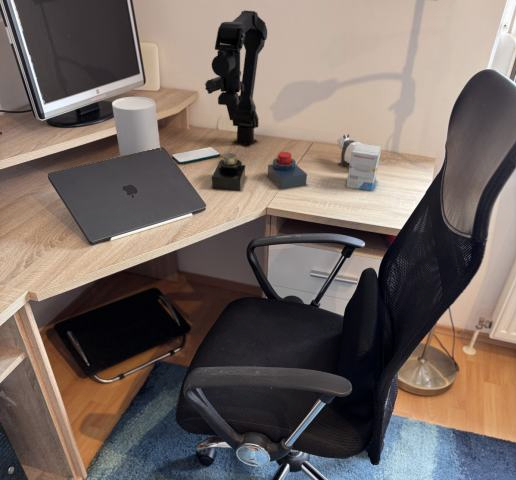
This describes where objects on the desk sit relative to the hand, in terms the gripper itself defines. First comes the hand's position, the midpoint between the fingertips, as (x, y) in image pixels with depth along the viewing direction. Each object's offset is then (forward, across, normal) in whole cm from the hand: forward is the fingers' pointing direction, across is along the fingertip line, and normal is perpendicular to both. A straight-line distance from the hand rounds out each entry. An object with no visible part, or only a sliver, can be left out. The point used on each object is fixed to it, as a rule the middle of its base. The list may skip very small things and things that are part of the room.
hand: (231, 119), depth 170 cm
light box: (+13, +21, +2) cm, 25 cm away
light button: (+8, +19, +2) cm, 20 cm away
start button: (+8, +14, +19) cm, 25 cm away
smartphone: (+13, +2, -13) cm, 18 cm away
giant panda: (+13, 0, +42) cm, 44 cm away
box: (+13, +17, +21) cm, 30 cm away
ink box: (+13, +15, +45) cm, 50 cm away
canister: (+13, +12, -30) cm, 35 cm away
